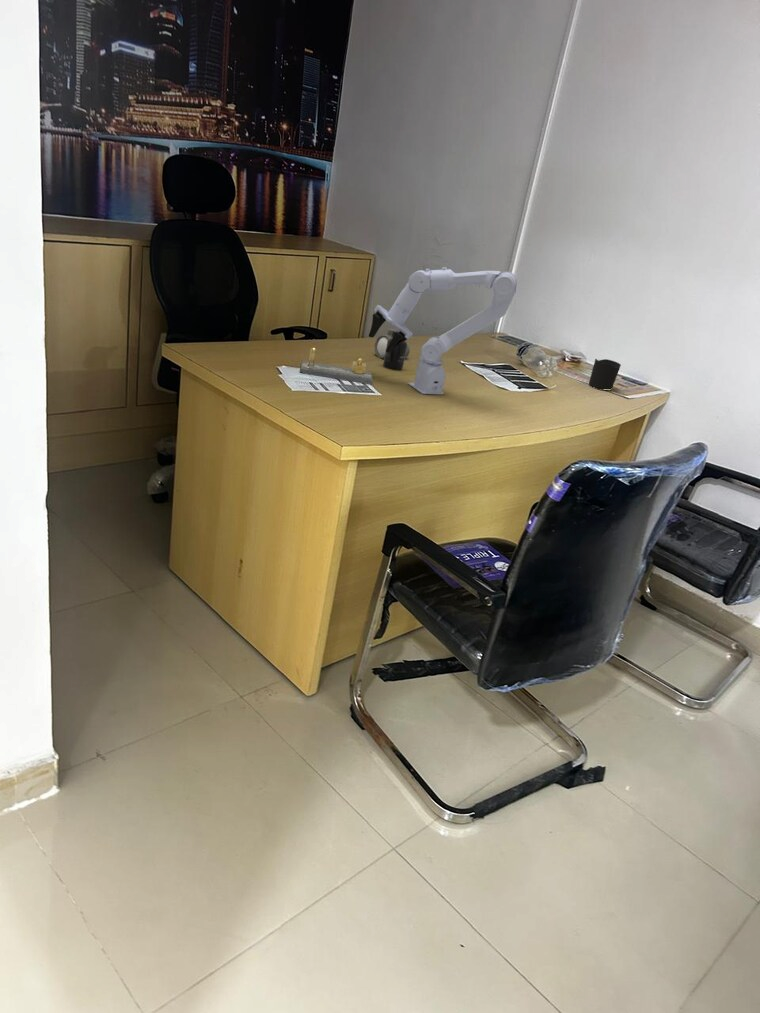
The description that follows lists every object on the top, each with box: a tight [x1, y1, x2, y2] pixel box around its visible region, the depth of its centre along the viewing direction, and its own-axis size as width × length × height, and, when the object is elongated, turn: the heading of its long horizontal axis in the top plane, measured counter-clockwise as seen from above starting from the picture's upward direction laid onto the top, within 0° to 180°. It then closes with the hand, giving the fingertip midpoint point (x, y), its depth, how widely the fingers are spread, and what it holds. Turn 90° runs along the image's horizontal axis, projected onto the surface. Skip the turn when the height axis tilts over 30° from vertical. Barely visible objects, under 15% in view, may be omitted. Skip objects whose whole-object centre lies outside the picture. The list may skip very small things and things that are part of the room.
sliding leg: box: [351, 357, 367, 374], centre depth 222 cm, size 4×6×4 cm, turn 3°
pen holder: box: [588, 358, 622, 390], centre depth 271 cm, size 9×9×10 cm
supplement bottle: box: [383, 329, 407, 371], centre depth 241 cm, size 7×7×12 cm
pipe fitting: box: [374, 328, 411, 359], centre depth 254 cm, size 12×8×10 cm
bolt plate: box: [299, 347, 373, 385], centre depth 222 cm, size 22×10×7 cm, turn 93°
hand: (379, 344), depth 225 cm, fingers open, 7 cm apart
